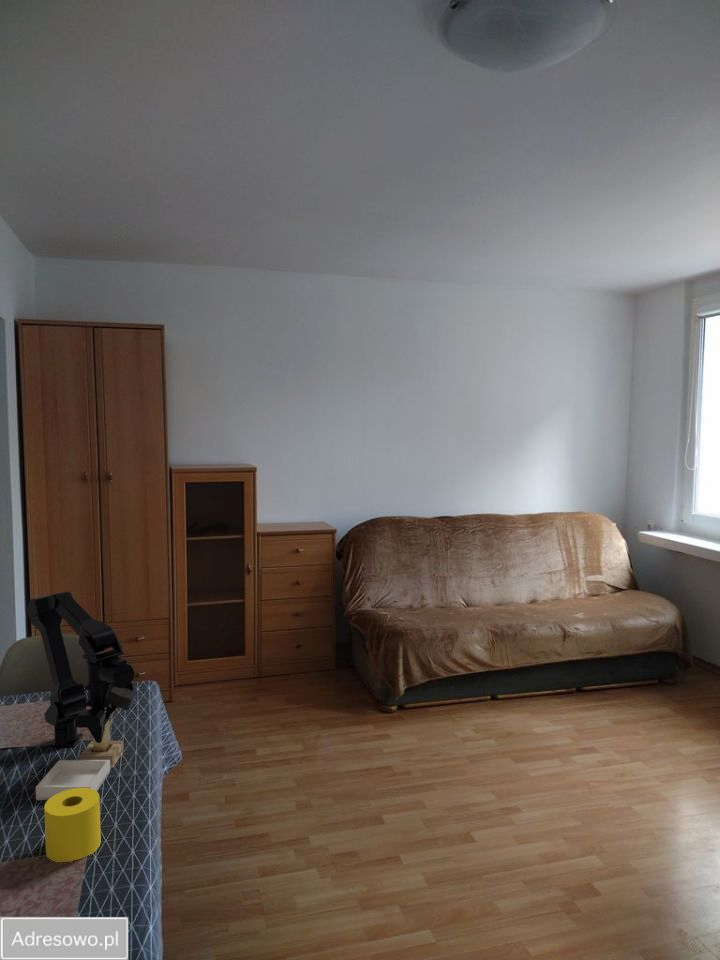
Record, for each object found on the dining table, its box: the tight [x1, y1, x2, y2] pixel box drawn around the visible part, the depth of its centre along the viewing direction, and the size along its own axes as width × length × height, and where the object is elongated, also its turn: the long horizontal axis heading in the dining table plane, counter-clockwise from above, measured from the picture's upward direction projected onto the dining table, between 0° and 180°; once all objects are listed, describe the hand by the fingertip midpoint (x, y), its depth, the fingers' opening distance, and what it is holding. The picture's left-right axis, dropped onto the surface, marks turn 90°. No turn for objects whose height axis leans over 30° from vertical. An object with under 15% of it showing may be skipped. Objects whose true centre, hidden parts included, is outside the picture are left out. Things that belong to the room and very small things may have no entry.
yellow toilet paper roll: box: [44, 788, 102, 862], centre depth 134 cm, size 10×10×9 cm
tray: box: [35, 759, 111, 801], centre depth 157 cm, size 12×12×3 cm
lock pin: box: [92, 719, 111, 752], centre depth 169 cm, size 3×3×9 cm
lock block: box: [78, 740, 124, 769], centre depth 169 cm, size 8×8×3 cm
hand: (101, 739), depth 169 cm, fingers closed on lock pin, 3 cm apart
